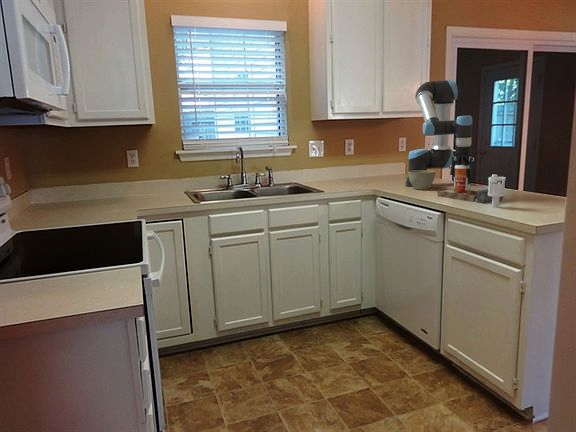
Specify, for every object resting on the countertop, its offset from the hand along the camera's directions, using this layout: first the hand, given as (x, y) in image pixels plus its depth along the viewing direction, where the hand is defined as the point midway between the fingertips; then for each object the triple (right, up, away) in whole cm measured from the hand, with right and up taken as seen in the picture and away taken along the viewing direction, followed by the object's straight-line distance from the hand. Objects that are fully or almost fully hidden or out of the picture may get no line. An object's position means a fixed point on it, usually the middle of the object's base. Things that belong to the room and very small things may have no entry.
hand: (461, 189), depth 229 cm
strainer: (+4, -10, -28) cm, 31 cm away
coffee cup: (0, -2, 0) cm, 2 cm away
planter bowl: (-11, +2, +36) cm, 37 cm away
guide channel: (+2, -5, -3) cm, 6 cm away
